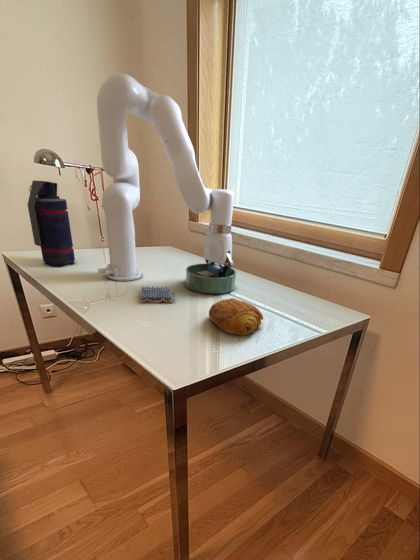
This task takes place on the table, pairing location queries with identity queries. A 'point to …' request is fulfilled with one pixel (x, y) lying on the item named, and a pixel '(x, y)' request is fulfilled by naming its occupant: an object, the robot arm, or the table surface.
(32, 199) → the grenade
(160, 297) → the spiked square pad
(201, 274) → the walnut block
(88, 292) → the table surface
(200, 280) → the faceted green bowl
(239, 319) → the croissant
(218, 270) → the periwinkle blue block
